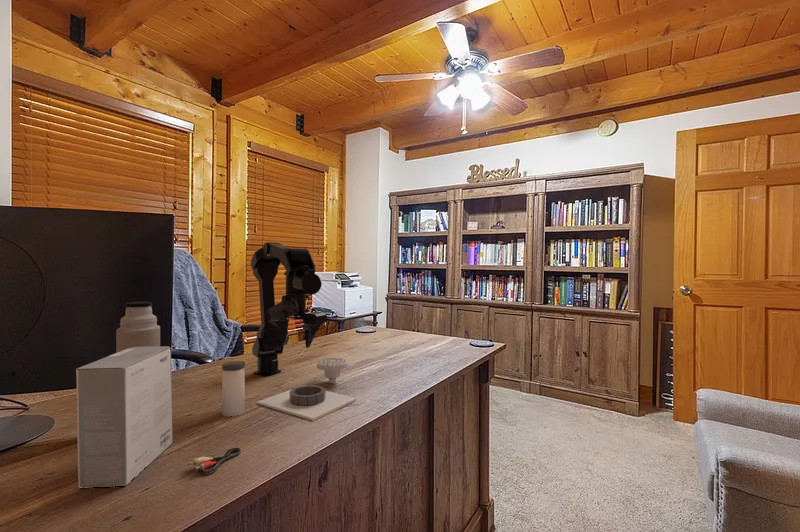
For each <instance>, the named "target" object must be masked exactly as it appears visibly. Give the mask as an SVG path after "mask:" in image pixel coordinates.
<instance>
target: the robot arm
mask: <svg viewBox="0 0 800 532" xmlns="http://www.w3.org/2000/svg"><path fill="white" fill-rule="evenodd" d="M252 255H253V256H252V257H251V260H250V267H251V269H252V275H253V276H254V278H255V279H256V280H257V281H258V288H259V289H258V292H259V306H260V307H259V308H260V311H259V312H260V324H261V325H260V326H259V328H258V331H257V332H256V339H255V341H254V343H253V345H252V348H251V350H252V355H253V356H254V357H255V358H257V370H255V371H253V374H255V375H260V376H264V377H268V376H271V375H274V374H278V373H281V372H282V369H279V359H278V358H279V357H278V356H279V355H278V354H280V355H281V354H283V351H284V347H285V344H286V340H287V336H288V331H289V330H288V329H289V321H290V319H292V320H301V321H303V324H302V326H303V328H304V329H305V330H304V331H305V333H304V334H305V348H306V349H307V348H310V347H311V344H312V342H313V341H314V338H315V336H316V334H317V332H318V331H319V329H320V327H321V326H323V325H324V323H325V324H326V323H328V315H327V313H326V312H323V311H311V312H310V311H309V310H310V309H309V308H307V300H309V299H310V296H313V295H315V294H318V292H319V291H320V290H321V288H322V280H321V278H320V276H319V275H318V274H316V264H315V262H314V260H313V258H312V254H311V253H310V251H309V249H307V248H296V247H295V248H294V247H289V246H286V245H284V244H281V243H280V242H273V241H271V242H270V241H269V242H268V241H267V242H265V243H264V244H263V246H262V247H261V248H259V249H258V250H257V251H255V252H254V253H253V254H252ZM280 265H282V266H283V267H284V269H285V271H284V273H283V275H284V276H285V295H284V294H283V295H282V296H281V301H280V302H278V303H276V301H275V300H276V299H275V286H274V285H275V284H274V279H276V276H277V274H278V273H279V267H280Z"/></svg>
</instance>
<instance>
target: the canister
mask: <svg viewBox="0 0 800 532" xmlns="http://www.w3.org/2000/svg"><path fill="white" fill-rule="evenodd" d="M245 369H246V362H245V361H244V360H235V361H227V362H223V363H222V364H221V378H222V379H221V383H222V384H221V401H222V402H221V404H222V405H221V410H222V411H221V415H222V416H223V417H226V416H227V418H228V417H230V416H232V417H237V415H238V416H241V415H243V414H244V413H245V377H246V376H245ZM240 414H241V415H240Z"/></svg>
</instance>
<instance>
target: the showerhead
mask: <svg viewBox="0 0 800 532" xmlns="http://www.w3.org/2000/svg"><path fill="white" fill-rule="evenodd" d="M348 365H349V363H348V360H346V359H345V358H340V357H327V358H323V359H319V360H318V361H317V362H316V368H317V369H318V370H320V371H324V372H323V373H324V377H325V378H327V379H328V383H329V384H336V382H337V381H336V380H337V378H339V377H340V376H341V370H344V369H347V368H348Z"/></svg>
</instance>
